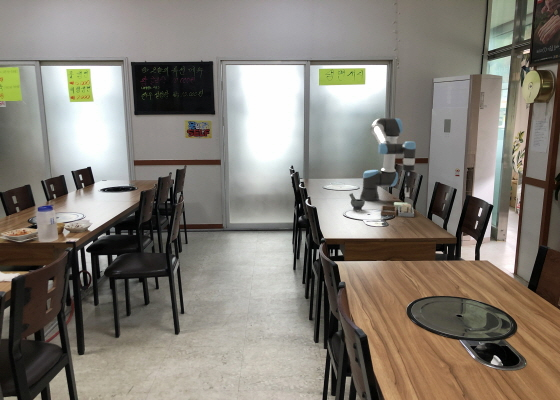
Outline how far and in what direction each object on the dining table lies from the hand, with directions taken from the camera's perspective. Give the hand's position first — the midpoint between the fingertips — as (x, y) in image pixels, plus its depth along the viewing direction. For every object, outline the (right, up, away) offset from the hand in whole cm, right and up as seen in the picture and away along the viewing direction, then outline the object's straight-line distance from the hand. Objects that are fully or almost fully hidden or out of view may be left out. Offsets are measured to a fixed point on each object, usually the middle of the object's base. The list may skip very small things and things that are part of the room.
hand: (406, 195), depth 311 cm
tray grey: (0, -12, +2) cm, 13 cm away
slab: (+1, -9, +18) cm, 21 cm away
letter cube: (0, -13, +2) cm, 13 cm away
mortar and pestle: (-32, -10, +13) cm, 36 cm away
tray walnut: (-11, -12, +5) cm, 17 cm away
